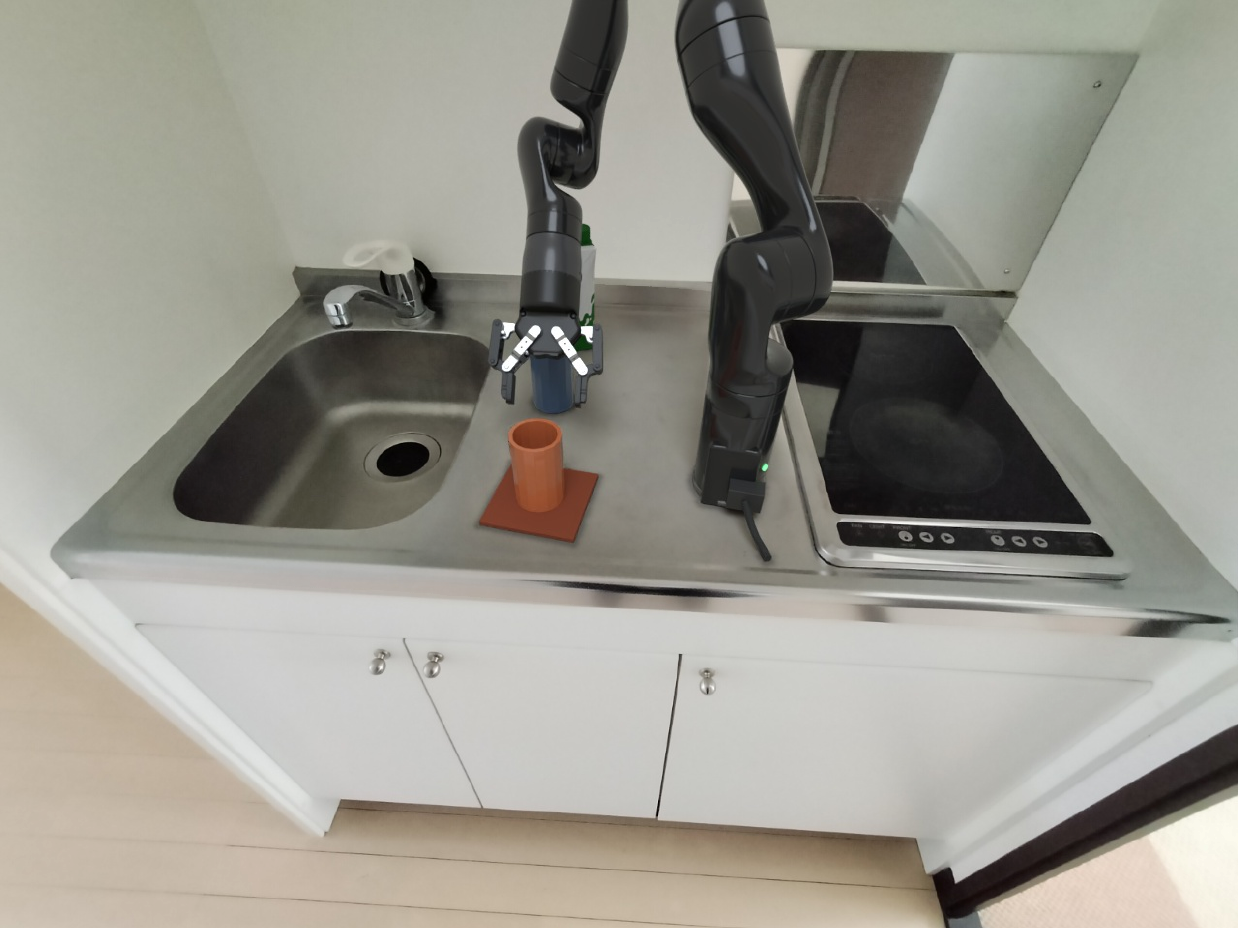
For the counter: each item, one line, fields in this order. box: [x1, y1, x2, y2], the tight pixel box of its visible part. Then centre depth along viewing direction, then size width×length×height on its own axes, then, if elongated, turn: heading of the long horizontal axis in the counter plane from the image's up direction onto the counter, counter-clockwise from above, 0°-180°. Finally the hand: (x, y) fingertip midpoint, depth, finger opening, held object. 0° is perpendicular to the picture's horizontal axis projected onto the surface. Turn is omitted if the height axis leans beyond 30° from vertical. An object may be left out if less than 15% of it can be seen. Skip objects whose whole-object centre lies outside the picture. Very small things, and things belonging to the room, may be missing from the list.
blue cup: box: [529, 356, 575, 414], centre depth 90 cm, size 6×6×10 cm
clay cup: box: [507, 417, 565, 513], centre depth 73 cm, size 6×6×10 cm
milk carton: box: [573, 222, 597, 352], centre depth 100 cm, size 9×9×20 cm
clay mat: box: [478, 463, 599, 544], centre depth 77 cm, size 12×12×1 cm
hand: (543, 405), depth 75 cm, fingers open, 8 cm apart
